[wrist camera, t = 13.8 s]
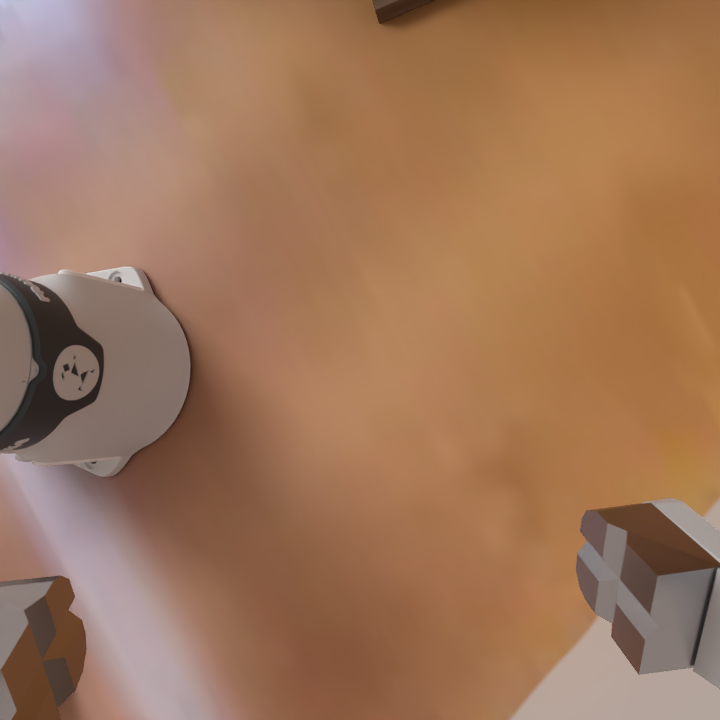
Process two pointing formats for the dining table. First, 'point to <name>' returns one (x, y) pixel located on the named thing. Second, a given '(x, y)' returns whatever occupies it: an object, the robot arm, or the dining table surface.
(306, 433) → the dining table surface
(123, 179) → the dining table surface
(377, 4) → the walnut shelf
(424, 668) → the dining table surface
